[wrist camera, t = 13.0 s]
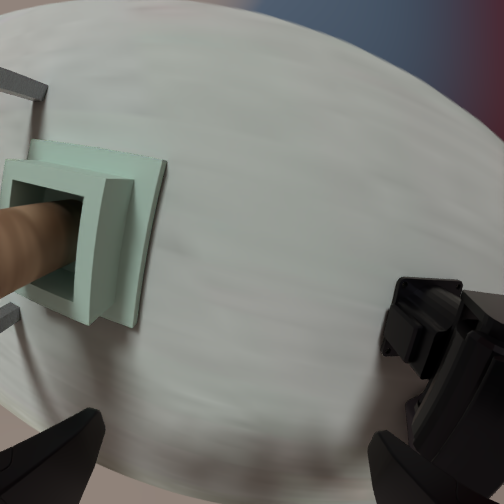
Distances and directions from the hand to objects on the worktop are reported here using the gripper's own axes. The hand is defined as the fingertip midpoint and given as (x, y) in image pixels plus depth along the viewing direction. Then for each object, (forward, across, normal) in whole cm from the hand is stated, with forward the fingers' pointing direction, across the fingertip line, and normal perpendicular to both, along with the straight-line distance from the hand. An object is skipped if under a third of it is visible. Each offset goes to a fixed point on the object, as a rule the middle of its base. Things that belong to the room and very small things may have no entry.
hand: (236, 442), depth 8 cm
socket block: (+13, +13, -4) cm, 19 cm away
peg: (+12, +13, -4) cm, 18 cm away
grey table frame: (+13, +17, -5) cm, 22 cm away
